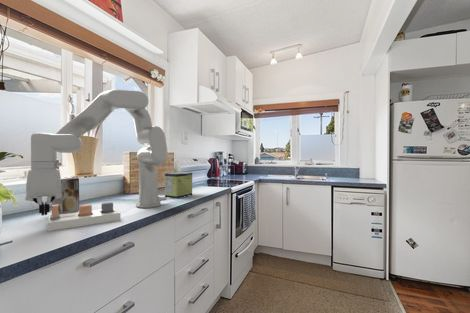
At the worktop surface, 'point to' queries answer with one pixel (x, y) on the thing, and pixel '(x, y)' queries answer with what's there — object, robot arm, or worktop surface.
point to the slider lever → (55, 212)
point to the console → (82, 219)
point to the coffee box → (68, 196)
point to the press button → (85, 210)
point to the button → (107, 207)
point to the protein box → (178, 184)
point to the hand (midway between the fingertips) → (44, 214)
